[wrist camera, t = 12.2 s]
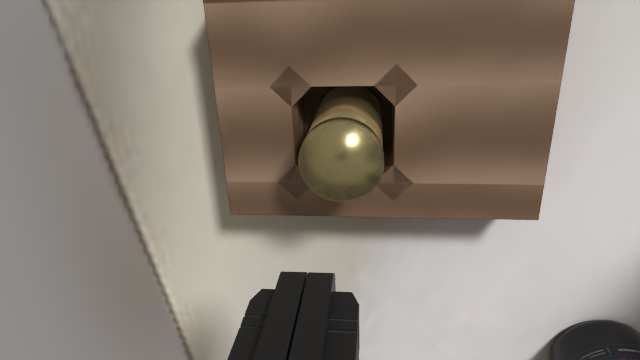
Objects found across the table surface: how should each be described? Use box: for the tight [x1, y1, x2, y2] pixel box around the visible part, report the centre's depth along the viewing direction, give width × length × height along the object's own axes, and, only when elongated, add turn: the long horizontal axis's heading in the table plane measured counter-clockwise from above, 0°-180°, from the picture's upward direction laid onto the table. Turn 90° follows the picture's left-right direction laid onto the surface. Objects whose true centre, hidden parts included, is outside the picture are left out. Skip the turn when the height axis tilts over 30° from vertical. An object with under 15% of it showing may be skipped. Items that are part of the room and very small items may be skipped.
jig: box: [203, 0, 575, 220], centre depth 27 cm, size 13×18×4 cm
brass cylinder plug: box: [298, 86, 384, 202], centre depth 26 cm, size 4×4×8 cm
